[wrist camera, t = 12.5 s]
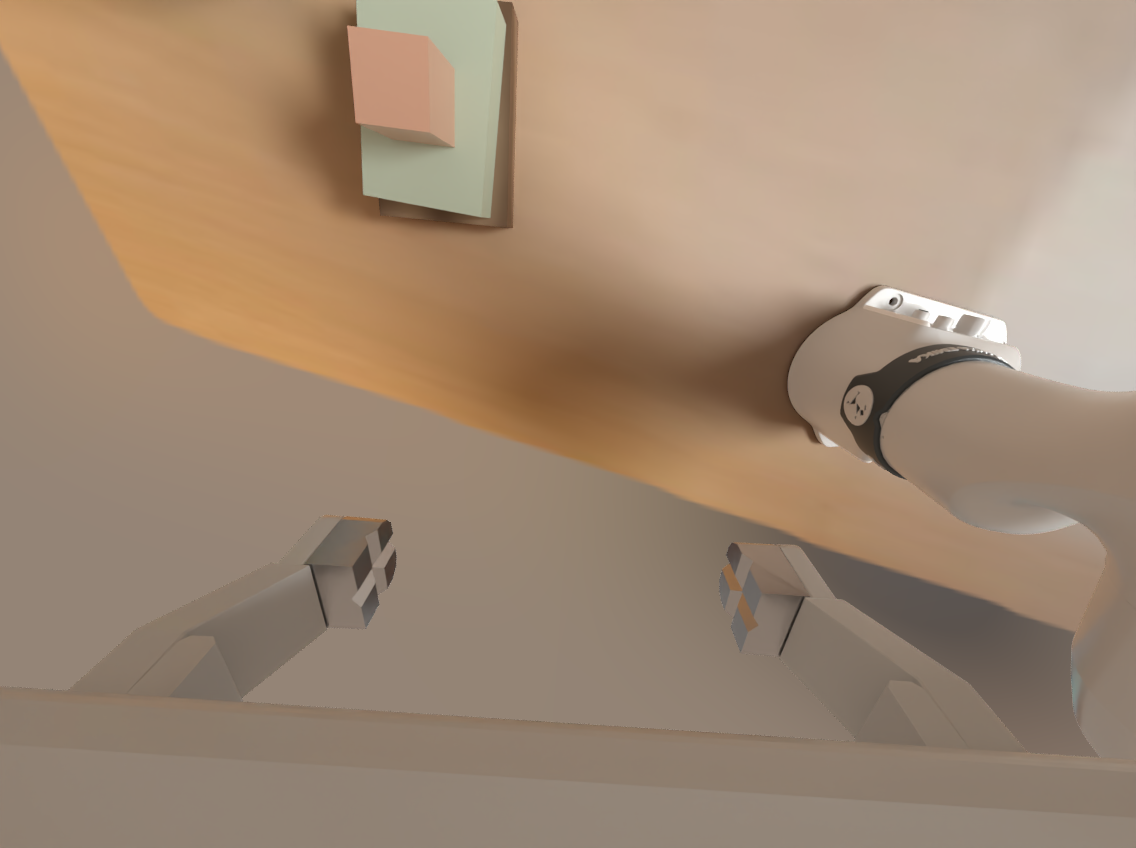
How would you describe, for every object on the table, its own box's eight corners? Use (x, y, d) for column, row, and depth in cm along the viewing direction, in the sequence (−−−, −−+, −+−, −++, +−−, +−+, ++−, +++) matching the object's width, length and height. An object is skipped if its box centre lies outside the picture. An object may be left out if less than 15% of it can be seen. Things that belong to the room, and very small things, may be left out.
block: (454, 69, 31) (427, 36, 26) (454, 147, 34) (430, 132, 28) (388, 60, 31) (347, 25, 26) (392, 139, 33) (355, 122, 28)
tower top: (506, 24, 33) (497, 0, 30) (490, 218, 39) (481, 217, 36) (380, -2, 33) (355, -30, 29) (383, 197, 39) (363, 194, 35)
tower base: (519, 24, 36) (512, 2, 33) (513, 227, 43) (507, 227, 40) (381, 10, 36) (358, -14, 33) (397, 216, 43) (380, 215, 39)
